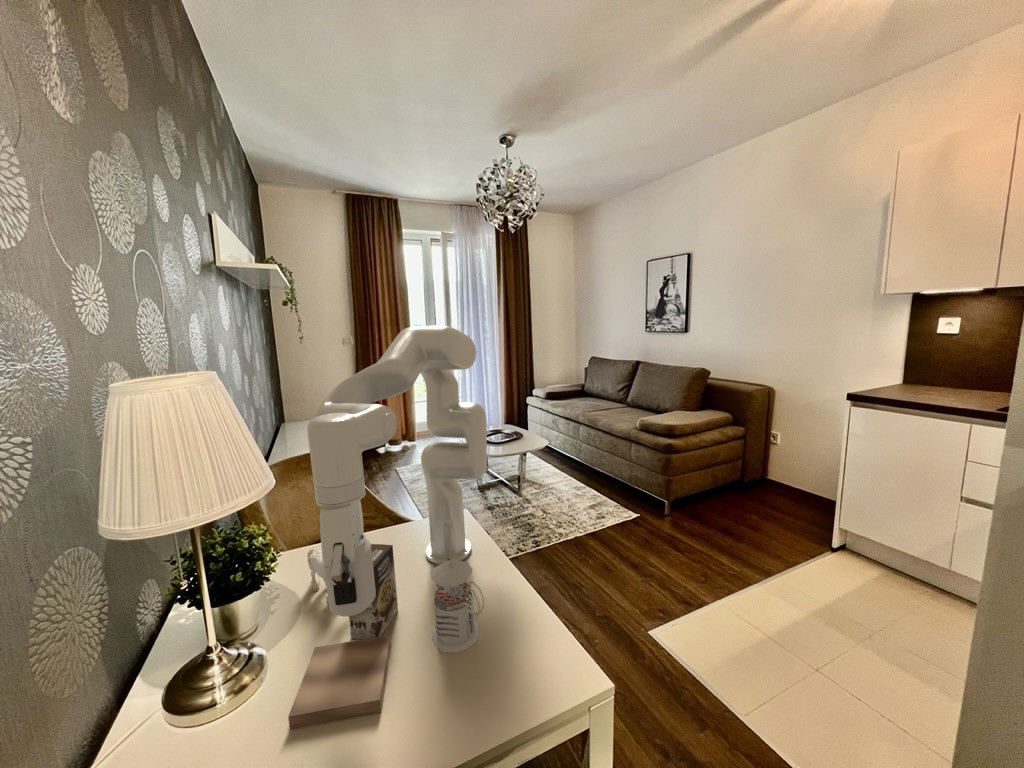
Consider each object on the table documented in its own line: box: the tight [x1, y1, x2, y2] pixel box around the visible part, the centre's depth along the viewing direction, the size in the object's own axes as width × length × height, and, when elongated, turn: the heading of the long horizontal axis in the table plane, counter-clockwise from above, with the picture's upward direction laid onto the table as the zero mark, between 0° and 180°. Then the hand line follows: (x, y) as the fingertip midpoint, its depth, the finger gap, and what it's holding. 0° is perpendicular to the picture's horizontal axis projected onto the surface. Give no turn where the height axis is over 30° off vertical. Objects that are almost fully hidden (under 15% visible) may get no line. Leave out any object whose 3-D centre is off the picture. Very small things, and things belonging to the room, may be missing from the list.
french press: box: [431, 520, 485, 653], centre depth 80 cm, size 10×12×25 cm
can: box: [324, 533, 376, 618], centre depth 68 cm, size 8×8×12 cm
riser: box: [287, 634, 392, 731], centre depth 72 cm, size 14×14×2 cm
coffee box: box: [348, 543, 399, 640], centre depth 85 cm, size 9×6×16 cm
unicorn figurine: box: [306, 547, 329, 606], centre depth 95 cm, size 7×20×13 cm, turn 67°
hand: (351, 585), depth 68 cm, fingers closed on can, 7 cm apart
